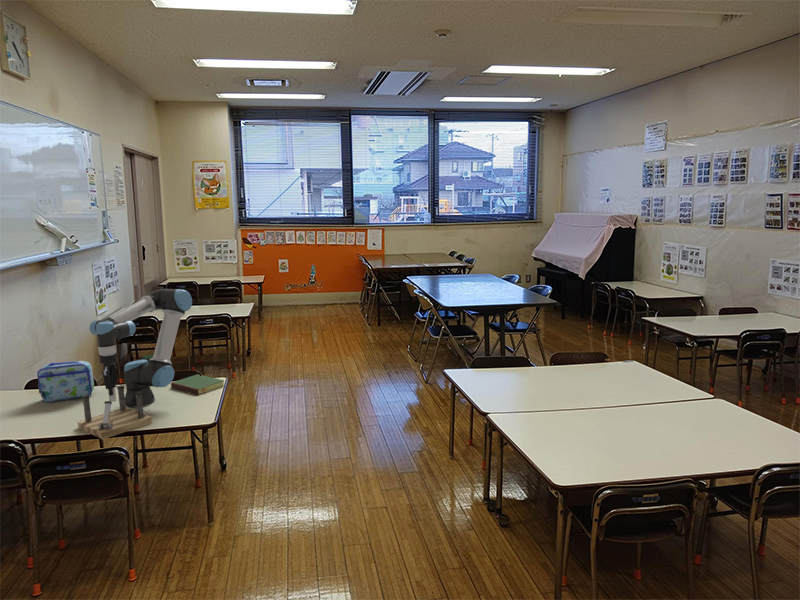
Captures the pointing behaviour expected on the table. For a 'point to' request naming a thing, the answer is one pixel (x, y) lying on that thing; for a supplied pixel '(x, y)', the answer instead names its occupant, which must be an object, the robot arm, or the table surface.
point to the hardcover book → (197, 384)
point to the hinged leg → (106, 415)
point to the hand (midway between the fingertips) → (112, 401)
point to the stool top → (115, 417)
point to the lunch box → (65, 380)
